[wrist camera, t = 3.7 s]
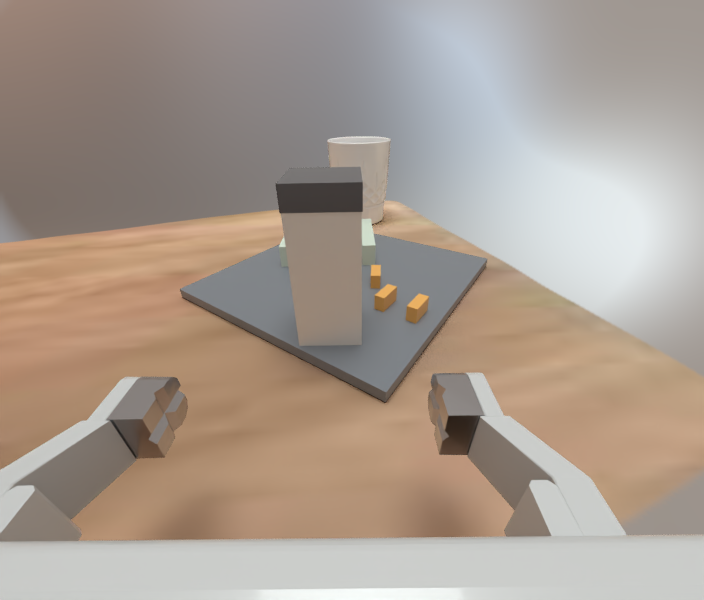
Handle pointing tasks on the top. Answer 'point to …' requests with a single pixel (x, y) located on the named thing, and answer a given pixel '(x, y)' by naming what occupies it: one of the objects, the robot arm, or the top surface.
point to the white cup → (365, 168)
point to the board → (377, 308)
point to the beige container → (324, 252)
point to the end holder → (367, 245)
